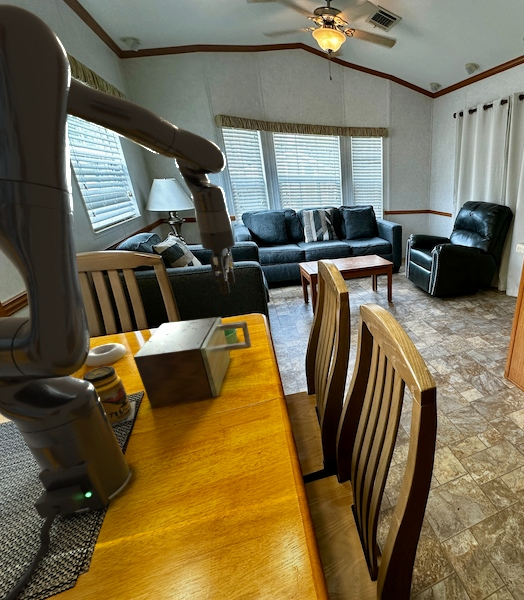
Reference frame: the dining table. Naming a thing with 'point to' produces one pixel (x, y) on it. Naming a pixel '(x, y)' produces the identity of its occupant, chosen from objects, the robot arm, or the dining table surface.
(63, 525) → the dining table surface
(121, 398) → the condiment
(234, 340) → the ramekin
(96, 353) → the donut
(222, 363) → the door
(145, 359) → the cupboard
